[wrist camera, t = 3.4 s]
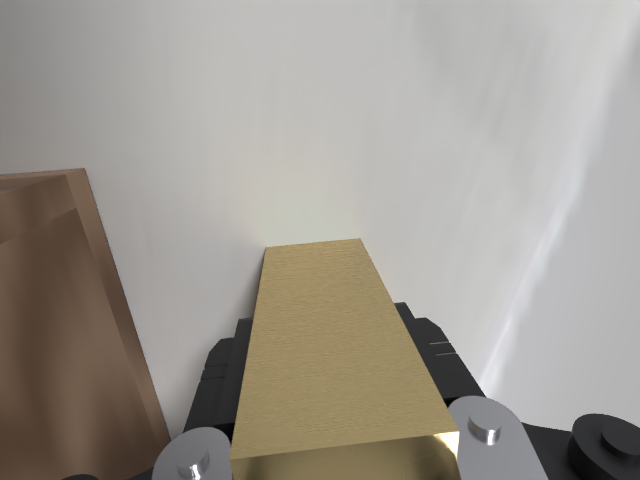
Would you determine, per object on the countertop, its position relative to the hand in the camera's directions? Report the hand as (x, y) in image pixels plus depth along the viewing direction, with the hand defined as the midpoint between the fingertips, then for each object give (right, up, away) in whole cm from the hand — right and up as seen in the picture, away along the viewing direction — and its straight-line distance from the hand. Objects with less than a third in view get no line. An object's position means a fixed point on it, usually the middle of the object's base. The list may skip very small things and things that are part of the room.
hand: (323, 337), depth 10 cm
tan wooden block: (0, +1, +3) cm, 3 cm away
